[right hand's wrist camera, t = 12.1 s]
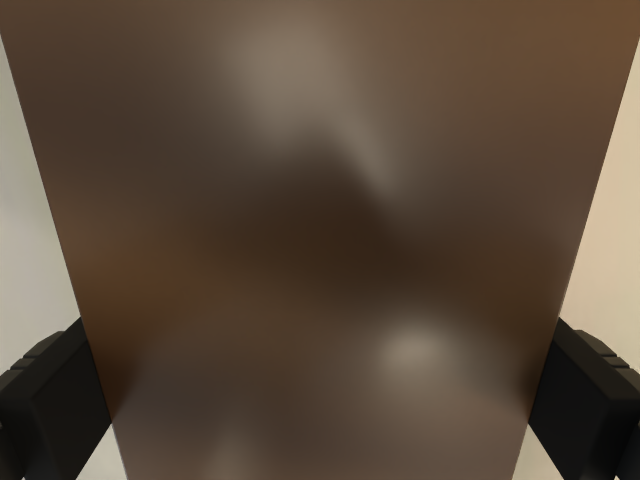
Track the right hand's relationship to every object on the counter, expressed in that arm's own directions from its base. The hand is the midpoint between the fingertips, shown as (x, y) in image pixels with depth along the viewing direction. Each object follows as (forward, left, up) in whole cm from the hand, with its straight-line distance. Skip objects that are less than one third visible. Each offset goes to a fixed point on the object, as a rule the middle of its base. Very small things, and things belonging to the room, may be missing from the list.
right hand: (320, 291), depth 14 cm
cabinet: (+3, -4, -6) cm, 8 cm away
